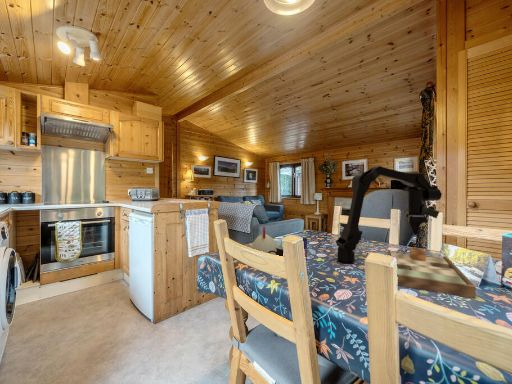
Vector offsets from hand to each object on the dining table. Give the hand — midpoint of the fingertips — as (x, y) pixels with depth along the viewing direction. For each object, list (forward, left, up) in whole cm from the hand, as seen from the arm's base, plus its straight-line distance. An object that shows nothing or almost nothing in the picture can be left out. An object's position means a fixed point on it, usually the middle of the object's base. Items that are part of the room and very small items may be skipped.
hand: (415, 235), depth 106 cm
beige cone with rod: (-62, -31, -12) cm, 70 cm away
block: (0, -7, -9) cm, 11 cm away
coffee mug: (-48, -42, -12) cm, 65 cm away
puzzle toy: (-48, -28, -12) cm, 57 cm away
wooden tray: (0, -18, -12) cm, 22 cm away
